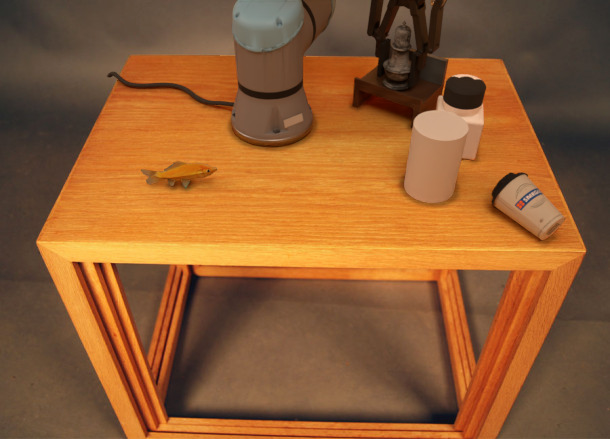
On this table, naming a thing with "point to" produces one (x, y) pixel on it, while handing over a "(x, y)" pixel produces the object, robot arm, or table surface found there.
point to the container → (465, 107)
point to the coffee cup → (526, 205)
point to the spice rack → (416, 97)
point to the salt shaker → (399, 60)
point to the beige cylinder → (435, 155)
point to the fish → (180, 173)
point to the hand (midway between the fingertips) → (397, 78)
